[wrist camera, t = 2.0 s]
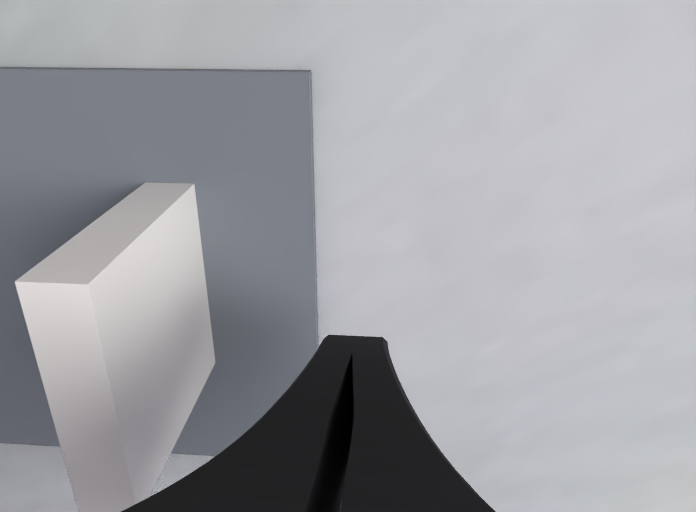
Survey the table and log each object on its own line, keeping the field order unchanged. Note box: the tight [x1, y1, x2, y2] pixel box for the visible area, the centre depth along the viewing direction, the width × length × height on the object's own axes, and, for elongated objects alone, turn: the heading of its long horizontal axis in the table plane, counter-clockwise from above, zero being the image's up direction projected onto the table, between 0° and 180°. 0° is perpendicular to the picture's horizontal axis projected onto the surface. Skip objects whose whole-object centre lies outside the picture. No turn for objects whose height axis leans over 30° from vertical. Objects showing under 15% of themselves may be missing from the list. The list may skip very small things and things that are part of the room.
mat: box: [0, 67, 318, 456], centre depth 18 cm, size 13×12×1 cm
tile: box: [15, 182, 215, 512], centre depth 14 cm, size 6×2×6 cm, turn 0°
